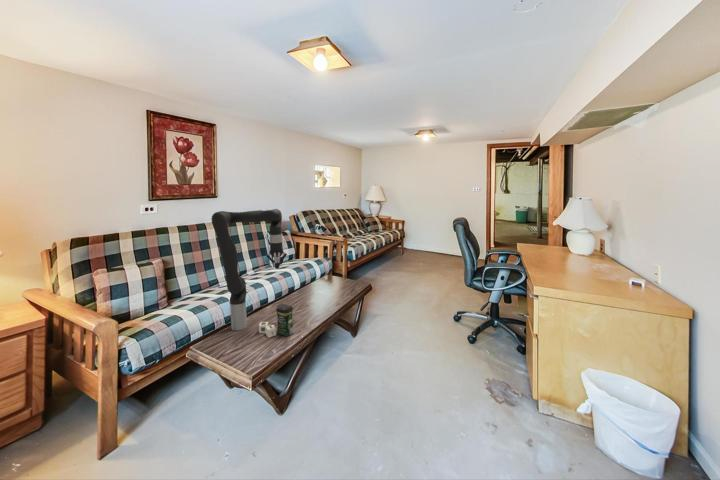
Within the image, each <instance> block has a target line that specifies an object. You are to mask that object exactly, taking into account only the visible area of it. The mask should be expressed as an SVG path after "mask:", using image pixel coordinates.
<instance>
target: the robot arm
mask: <svg viewBox="0 0 720 480" xmlns="http://www.w3.org/2000/svg"><path fill="white" fill-rule="evenodd" d="M282 220H283V215H282V211H281V210H280V209H277V208H274V209H268V210H267V209H266V210H261V209H260V210H258V209H257V210H247V211H239V212H238V211H237V212H233V211H226V210H221V211H216V212H214V213H213V214H212V216H211V223H212V226H213V229H214V231H215V232H214V233H215V235H216V239H217V244H218V247H219V249H218V250H219V254H220V259H221V261H222V265H223V269H224V273H225V282H226V288H227V291H228V292H229V293H230V297H229V309H230V326H231V327H230V328H231V331H242V330H245V329H246V328H247V327H248V320H247V317H248V316H247V305H246V298H247V283H246V280H245V278H243V277H242V276H240V275H239V271H238V270H239V268H238V266H239V257H238V255H239V254H238V250H237V247H236V245H235V242H234V241H233V239H232V236H231V235H230V231H229V226H228V225H233V224H235V223H263V222H270V224H269V253H267V254H266V255H265V256H266V257H267V258H268V260H269V261H270V262H272V263H273V264H274V268H275V270H276V269H279V268H280V264H281V262H283V261H284V260H285V258H286V257H287V256H288V254H287V253H286V252H284V250H283V248H284V247H283V235H282V234H283V233H282Z"/></svg>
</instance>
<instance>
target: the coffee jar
mask: <svg viewBox="0 0 720 480" xmlns="http://www.w3.org/2000/svg"><path fill="white" fill-rule="evenodd" d="M293 308H294V307H293V306H292V305H290V304H286V303H280V304H278V305H277V306H276V315H277V325H276V326H277V328H276V334H278V335H281V336H284V337H288V336H291V335H292V334H293V333H294V323H293V322H294V321H293V313H294V309H293Z"/></svg>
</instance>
